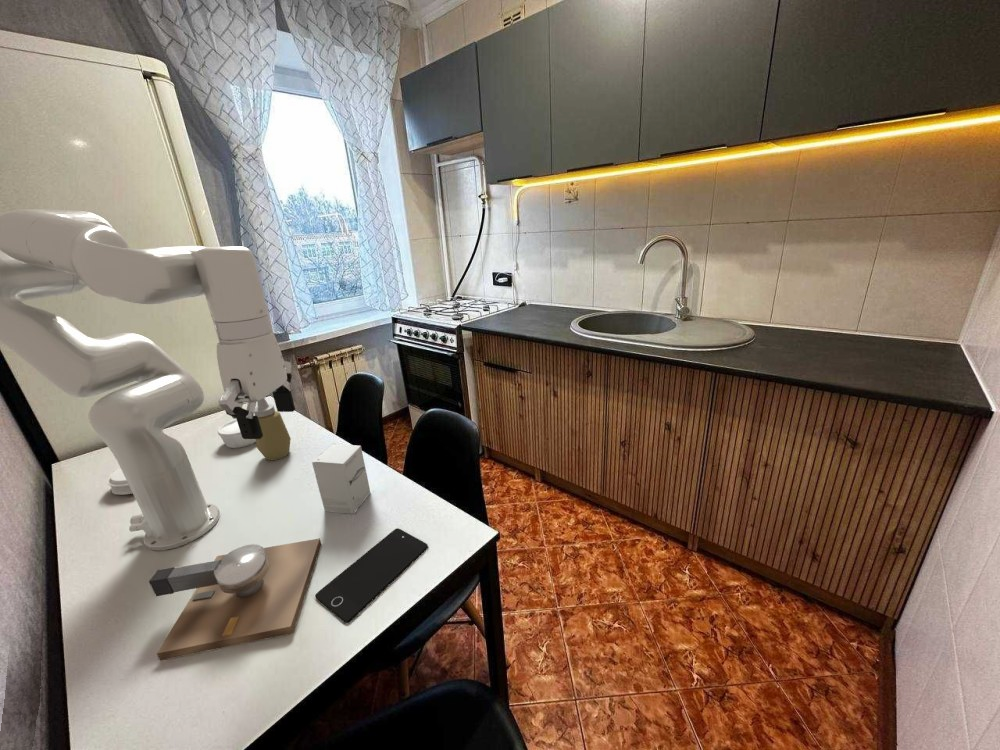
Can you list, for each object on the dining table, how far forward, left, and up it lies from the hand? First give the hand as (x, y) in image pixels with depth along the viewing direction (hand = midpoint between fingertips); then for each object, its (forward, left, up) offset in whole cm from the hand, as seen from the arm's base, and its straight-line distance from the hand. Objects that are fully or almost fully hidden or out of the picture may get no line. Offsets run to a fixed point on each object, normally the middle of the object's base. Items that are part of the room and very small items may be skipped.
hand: (270, 423), depth 68 cm
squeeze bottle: (-16, +35, -26) cm, 46 cm away
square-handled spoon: (-10, -12, -21) cm, 26 cm away
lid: (-46, +31, -26) cm, 61 cm away
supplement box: (+7, +9, -26) cm, 28 cm away
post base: (-5, -12, -25) cm, 28 cm away
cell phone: (+15, -12, -26) cm, 32 cm away
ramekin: (-29, +47, -26) cm, 61 cm away
